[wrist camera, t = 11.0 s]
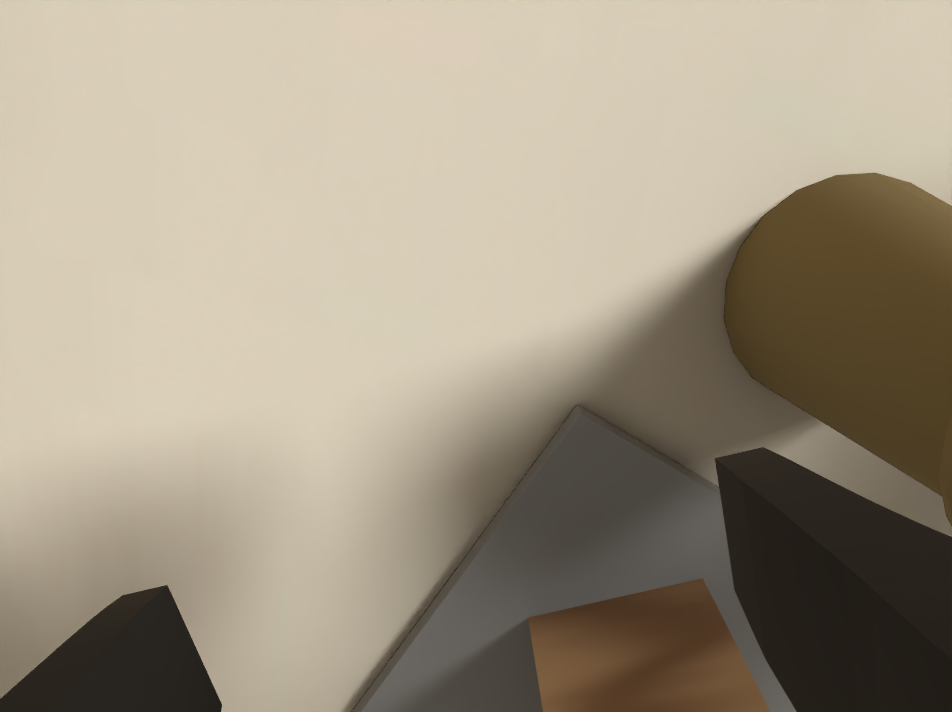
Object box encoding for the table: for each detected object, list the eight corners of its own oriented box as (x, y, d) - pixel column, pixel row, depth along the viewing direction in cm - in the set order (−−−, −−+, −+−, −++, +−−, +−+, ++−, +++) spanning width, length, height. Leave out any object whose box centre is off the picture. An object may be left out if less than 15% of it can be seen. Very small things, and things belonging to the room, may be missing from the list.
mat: (907, 598, 24) (919, 611, 23) (662, 853, 27) (667, 870, 26) (577, 404, 21) (581, 414, 20) (350, 714, 24) (348, 730, 24)
